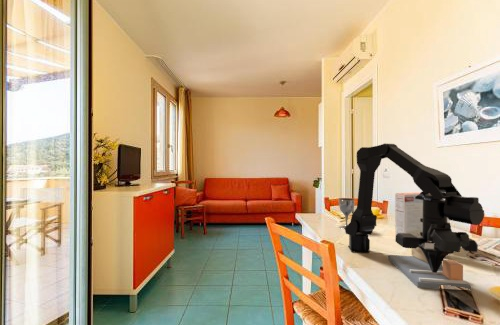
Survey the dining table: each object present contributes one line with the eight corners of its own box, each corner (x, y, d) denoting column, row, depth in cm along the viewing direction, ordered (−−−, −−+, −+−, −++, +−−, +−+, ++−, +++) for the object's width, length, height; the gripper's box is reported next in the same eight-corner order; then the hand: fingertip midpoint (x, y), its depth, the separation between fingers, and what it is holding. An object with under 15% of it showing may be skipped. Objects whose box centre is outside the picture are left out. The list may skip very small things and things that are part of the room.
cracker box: (420, 238, 117) (420, 192, 117) (432, 242, 111) (432, 193, 111) (394, 239, 114) (394, 192, 114) (405, 244, 108) (405, 194, 108)
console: (417, 287, 70) (417, 261, 70) (388, 259, 90) (388, 239, 90) (471, 291, 68) (471, 264, 68) (428, 261, 88) (428, 241, 88)
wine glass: (357, 229, 131) (357, 200, 131) (341, 229, 131) (341, 200, 131) (351, 225, 138) (351, 198, 139) (336, 225, 139) (336, 198, 139)
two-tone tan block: (437, 266, 80) (437, 251, 80) (434, 266, 80) (434, 251, 80) (414, 255, 89) (414, 242, 89) (411, 255, 89) (411, 242, 89)
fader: (450, 280, 70) (450, 264, 70) (442, 274, 74) (442, 259, 74) (462, 280, 70) (463, 265, 70) (454, 274, 74) (454, 260, 74)
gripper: (412, 222, 66) (412, 282, 66) (494, 225, 63) (493, 288, 63) (394, 213, 77) (394, 265, 77) (463, 216, 74) (463, 269, 74)
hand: (434, 272), depth 73 cm, fingers closed
